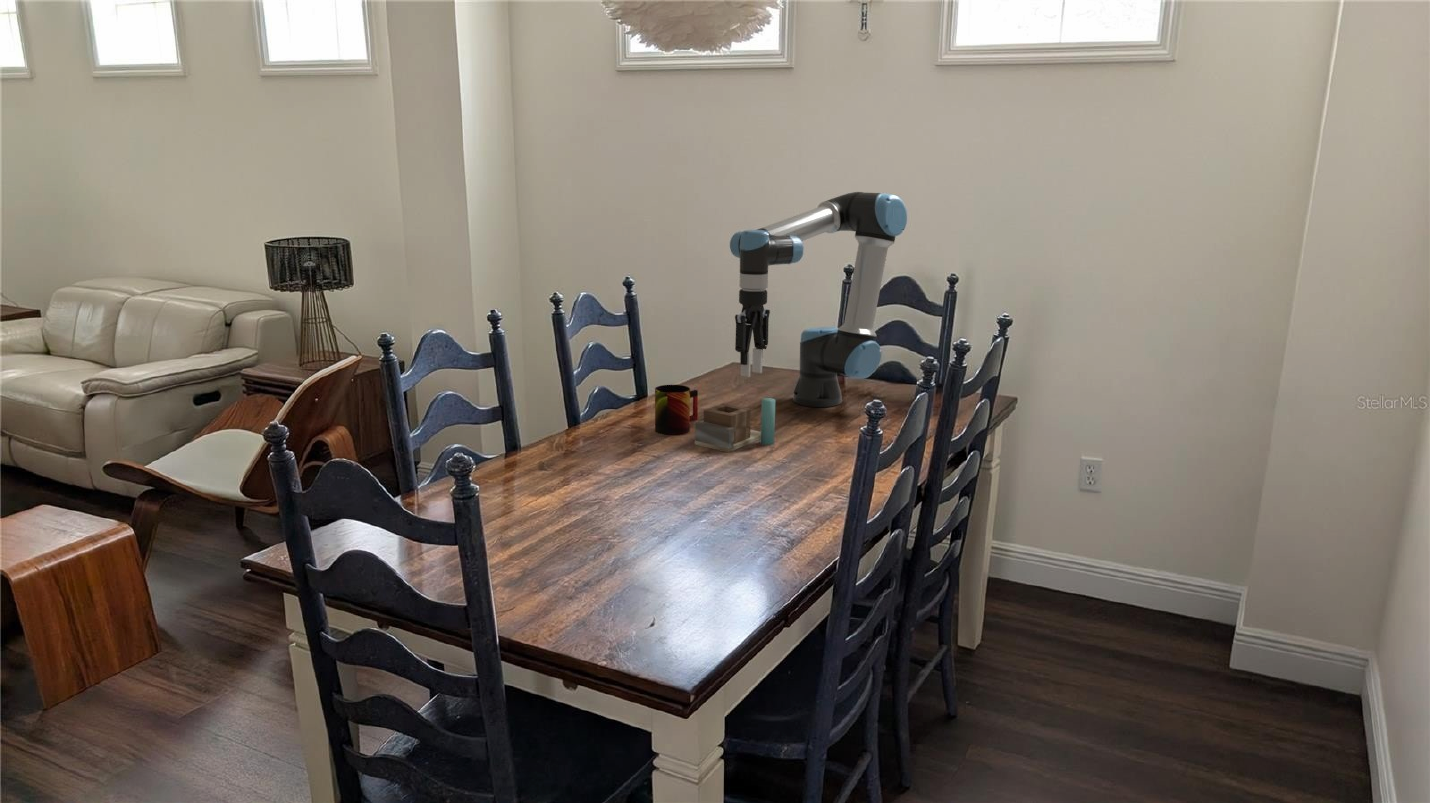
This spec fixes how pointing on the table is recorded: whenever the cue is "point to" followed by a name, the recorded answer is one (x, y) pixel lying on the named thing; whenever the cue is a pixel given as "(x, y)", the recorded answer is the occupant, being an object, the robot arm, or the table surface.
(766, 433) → the dowel
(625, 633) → the table surface
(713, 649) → the table surface
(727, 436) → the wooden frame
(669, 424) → the mug
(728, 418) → the block
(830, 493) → the table surface
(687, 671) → the table surface
